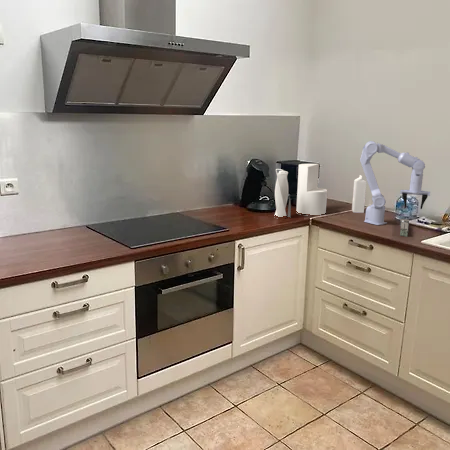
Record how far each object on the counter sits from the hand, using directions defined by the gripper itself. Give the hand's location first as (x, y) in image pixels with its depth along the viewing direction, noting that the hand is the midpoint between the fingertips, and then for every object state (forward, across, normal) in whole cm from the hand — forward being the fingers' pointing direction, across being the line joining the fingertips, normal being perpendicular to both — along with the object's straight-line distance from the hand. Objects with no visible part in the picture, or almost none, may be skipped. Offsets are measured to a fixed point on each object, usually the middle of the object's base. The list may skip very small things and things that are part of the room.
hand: (413, 208), depth 242 cm
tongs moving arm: (+9, -4, -14) cm, 17 cm away
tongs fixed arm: (+9, -3, -13) cm, 16 cm away
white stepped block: (+10, -56, +10) cm, 57 cm away
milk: (+10, -30, +23) cm, 39 cm away
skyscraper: (+10, -68, -11) cm, 70 cm away
